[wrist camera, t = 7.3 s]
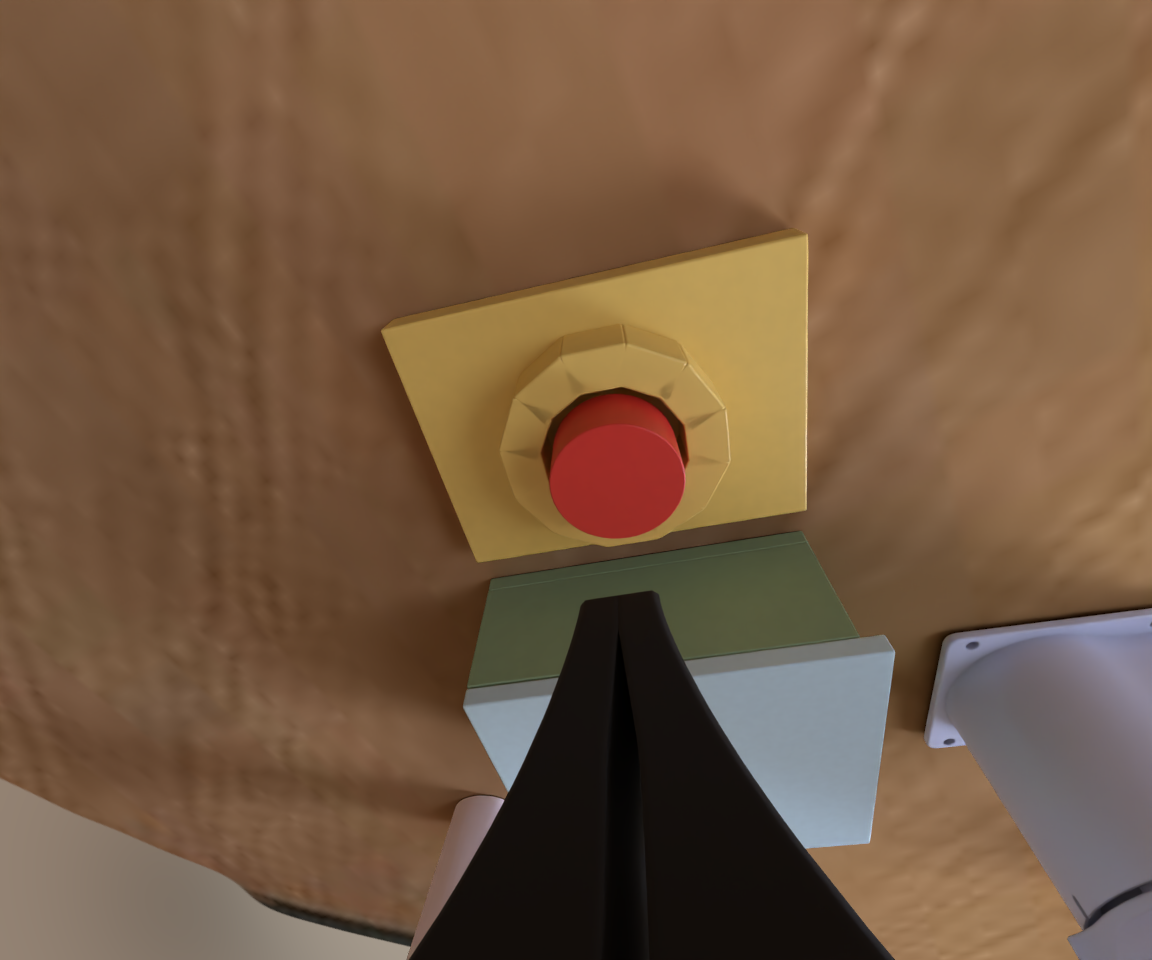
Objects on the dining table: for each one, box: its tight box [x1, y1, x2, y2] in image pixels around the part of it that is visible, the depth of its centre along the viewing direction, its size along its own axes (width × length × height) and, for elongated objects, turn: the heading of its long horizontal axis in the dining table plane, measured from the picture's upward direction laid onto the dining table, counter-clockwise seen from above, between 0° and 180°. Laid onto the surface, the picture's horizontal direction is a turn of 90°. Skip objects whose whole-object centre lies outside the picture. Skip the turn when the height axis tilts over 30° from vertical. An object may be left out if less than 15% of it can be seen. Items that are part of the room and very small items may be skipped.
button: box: [549, 394, 686, 539], centre depth 15 cm, size 4×4×2 cm
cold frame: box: [467, 531, 860, 689], centre depth 22 cm, size 12×11×5 cm
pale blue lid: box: [463, 635, 895, 848], centre depth 19 cm, size 13×11×1 cm
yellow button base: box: [381, 228, 808, 563], centre depth 17 cm, size 12×9×3 cm
